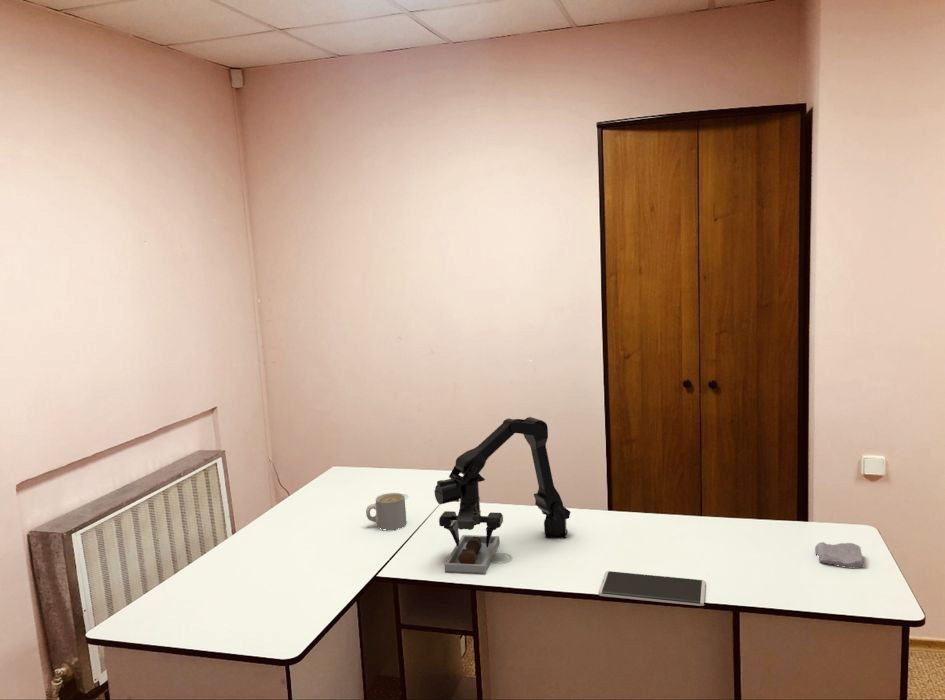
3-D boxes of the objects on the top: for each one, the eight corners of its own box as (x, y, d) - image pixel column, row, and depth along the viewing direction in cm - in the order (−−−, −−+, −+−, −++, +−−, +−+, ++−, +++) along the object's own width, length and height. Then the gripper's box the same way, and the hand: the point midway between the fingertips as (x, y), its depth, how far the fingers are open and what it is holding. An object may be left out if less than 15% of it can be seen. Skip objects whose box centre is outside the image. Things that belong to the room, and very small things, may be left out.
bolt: (479, 552, 233) (470, 571, 218) (465, 544, 234) (455, 563, 219) (487, 536, 232) (479, 555, 217) (473, 528, 233) (464, 546, 218)
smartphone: (704, 609, 189) (704, 602, 189) (598, 597, 198) (597, 591, 197) (705, 585, 201) (705, 579, 201) (605, 575, 210) (605, 570, 210)
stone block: (866, 575, 204) (859, 554, 213) (866, 561, 203) (859, 539, 212) (819, 573, 208) (814, 552, 217) (819, 559, 206) (814, 538, 215)
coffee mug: (408, 519, 262) (406, 492, 260) (404, 530, 252) (402, 502, 250) (370, 520, 262) (368, 493, 261) (365, 531, 253) (362, 503, 251)
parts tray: (499, 543, 236) (499, 536, 235) (485, 574, 215) (484, 566, 214) (463, 542, 238) (462, 535, 238) (444, 572, 217) (444, 564, 217)
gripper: (432, 505, 218) (435, 556, 220) (494, 507, 214) (497, 558, 216) (442, 492, 229) (445, 541, 231) (502, 494, 225) (504, 543, 227)
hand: (472, 546), depth 226 cm, fingers open, 9 cm apart
